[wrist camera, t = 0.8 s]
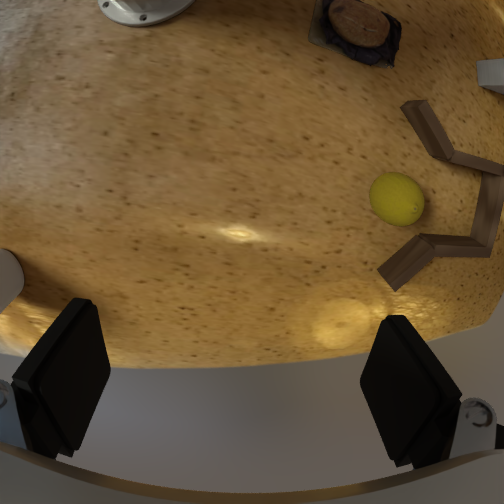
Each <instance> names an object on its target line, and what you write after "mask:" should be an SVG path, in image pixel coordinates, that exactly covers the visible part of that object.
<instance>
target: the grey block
mask: <svg viewBox="0 0 504 504" xmlns="http://www.w3.org/2000/svg"><path fill="white" fill-rule="evenodd" d="M476 65H477V74H478V86H481V87H484V88H487V89H490V90H493V91H495V92H498V93H501V94H503V95H504V58H502V59H491V60H481V61H476Z"/></svg>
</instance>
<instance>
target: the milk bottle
mask: <svg viewBox="0 0 504 504" xmlns="http://www.w3.org/2000/svg"><path fill="white" fill-rule="evenodd" d="M23 286H24V274H23V270H22V268H21V265H20V264H19V262H18V260H17V259H16V258H15V256H14V255H13V254H12V253H10V252H9V251H7V250H5V249H0V313H1V312H2V311H3V310H4V309H5V308H6V307H7V306H8V305H9V304H10V303H11V302H12V301H13V300H14V299H15V298H16V297H17V296H18V295H19V293H20V292H21V291H22V289H23Z"/></svg>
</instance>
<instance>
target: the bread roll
mask: <svg viewBox="0 0 504 504" xmlns="http://www.w3.org/2000/svg"><path fill="white" fill-rule="evenodd" d="M401 29H402V28H401V23H400V22H398V21H397V20H396V19H395V18H394V17H392V16H391V15H389V14H387V13H384V12H382V11H379V10H377V9H376V8H374V7H372V6H371V5H369V4H365V3H363V2H361V1H360V0H316V5H315V9H314V13H313V18H312V23H311V27H310V32H309V36H308V40H309V42H311V43H313V44H315V45H318V46H320V47H323V48H326V49H329V50H331V51H334V52H337V53H339V54H342V55H345V56H347V57H349V58H351V59H354V60H356V61H359V62H362V63H365V64H368V65H370V66H371V65H375V66H379V67H382V68H387V67H388V66H390V68H391V69H392V68H393V67H394V59H395V55H396V52H397V51H398V50H399V41H400V38H401ZM385 64H387V65H385Z"/></svg>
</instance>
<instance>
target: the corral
mask: <svg viewBox="0 0 504 504" xmlns="http://www.w3.org/2000/svg"><path fill="white" fill-rule="evenodd" d="M400 109H401V110H402V112H403V113H404V115H405V116H406V118H407V119H408V121H409V122H410V124H411V125H412V127H413V128H414V130H415V132H416V133H417V135H418V137H419V138H420V140H421V141H422V143H423V145H424V147H425V148H426V150H427V152H428V153H429V155H432V157H433V158H437V159H441V160H445V161H448V162H452V163H456V164H460V165H464V166H468V167H472V168H475V169H479V170H483V173H482V180H481V186H480V192H479V197H478V203H477V208H476V213H475V217H474V222H473V226H472V230H471V235H470V237H466V236H452V235H438V234H422V233H420V234H419V236H417V235H415V236H414V237H413V238H412V239H411V240H410V241H409V242H408V243H407V244H405V245H404V246H403V247H402V248H401V249H400V250H399V251H398V252H396V253H395V254H394V255H393V256H392V257H391V258H390V259H388V260H387V261H386V262H385V263H384V264H383V265H381V266H380V267H379V268H378V269H377V270H378V272H379V273H380V274H381V276H382V277H383V278H384V279H385V281H386V282H387V283H388V284H389V285H390V287H391V288H392V289H393V290H394V291H395V292H396V291H397V290H398V289H399V288H400V287H401V286H403V285H404V284H405V283H406V282H407V281H408V280H410V279H411V278H412V277H413V276H414V275H415V274H416V273H417V272H419V271H420V270H421V269H422V268H423V267H424V266H425V265H426V264H427V263H428V262H430V261H431V260H432V259H433V258H434V257H485V258H490V255H491V252H492V248H493V244H494V241H495V237H496V233H497V229H498V225H499V220H500V216H501V211H502V207H503V202H504V165H502V164H499V163H496V162H493V161H490V160H487V159H483V158H480V157H477V156H474V155H470V154H467V153H463V152H460V151H456V150H454V148H453V146H452V144H451V142H450V140H449V138H448V136H447V135H446V133H445V131H444V129H443V127H442V126H441V124H440V122H439V120H438V119H437V117H436V115H435V113H434V112H433V110H432V108H431V107H430V105H429V104H428V102H427V100H414V101H407V102H406V103H405V104H403V105H402V106H401V107H400Z"/></svg>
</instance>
